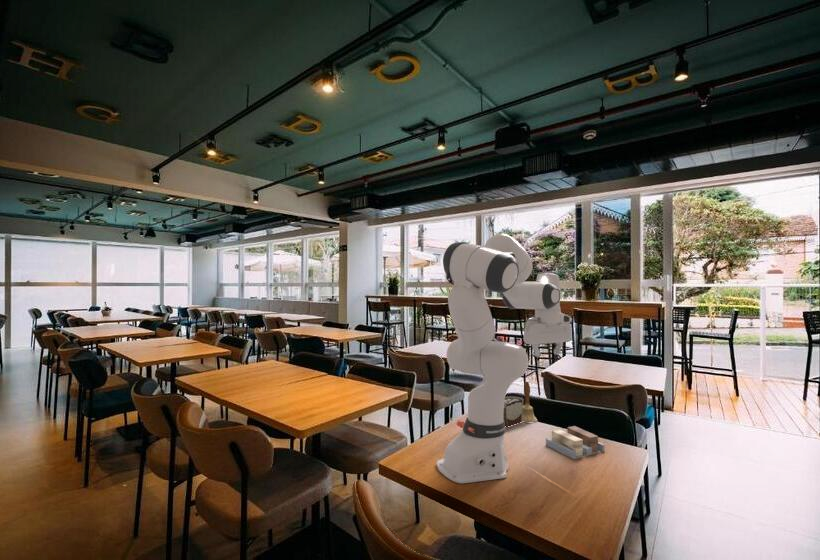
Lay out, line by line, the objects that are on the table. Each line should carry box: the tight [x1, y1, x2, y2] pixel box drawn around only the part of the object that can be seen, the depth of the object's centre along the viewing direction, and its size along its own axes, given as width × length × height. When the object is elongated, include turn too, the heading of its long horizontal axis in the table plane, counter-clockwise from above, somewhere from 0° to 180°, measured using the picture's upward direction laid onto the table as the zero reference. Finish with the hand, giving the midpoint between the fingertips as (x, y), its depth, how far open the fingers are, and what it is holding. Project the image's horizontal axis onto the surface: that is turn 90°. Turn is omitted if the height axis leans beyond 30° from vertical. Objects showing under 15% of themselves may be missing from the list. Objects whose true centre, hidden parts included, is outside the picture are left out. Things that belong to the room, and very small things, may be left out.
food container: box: [503, 396, 525, 428], centre depth 158 cm, size 12×6×10 cm, turn 128°
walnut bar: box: [566, 425, 599, 452], centre depth 134 cm, size 10×4×5 cm, turn 23°
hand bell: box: [522, 381, 538, 423], centre depth 162 cm, size 8×8×16 cm
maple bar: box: [551, 429, 583, 456], centre depth 131 cm, size 10×4×5 cm, turn 26°
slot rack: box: [545, 437, 606, 460], centre depth 133 cm, size 14×12×3 cm
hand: (547, 355), depth 141 cm, fingers open, 8 cm apart
